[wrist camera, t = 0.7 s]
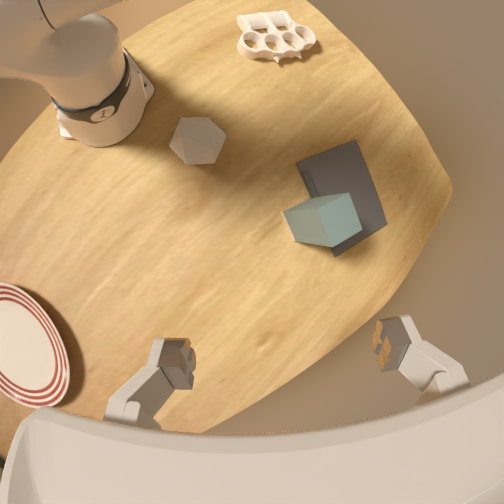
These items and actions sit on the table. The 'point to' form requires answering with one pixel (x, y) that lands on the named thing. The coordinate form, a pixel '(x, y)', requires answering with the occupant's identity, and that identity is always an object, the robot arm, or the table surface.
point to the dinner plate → (30, 351)
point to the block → (322, 220)
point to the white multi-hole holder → (273, 36)
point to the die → (197, 140)
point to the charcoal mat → (345, 187)
